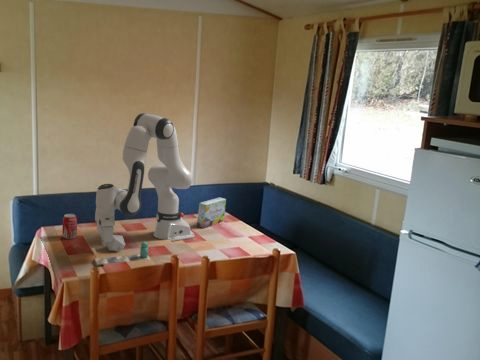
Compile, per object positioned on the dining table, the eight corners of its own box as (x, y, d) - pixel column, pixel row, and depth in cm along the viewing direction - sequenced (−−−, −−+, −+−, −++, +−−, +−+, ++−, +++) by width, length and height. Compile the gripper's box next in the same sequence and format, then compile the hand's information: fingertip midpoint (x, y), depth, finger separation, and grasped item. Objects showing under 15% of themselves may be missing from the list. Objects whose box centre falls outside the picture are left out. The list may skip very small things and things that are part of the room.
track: (147, 255, 232) (147, 253, 231) (151, 261, 226) (152, 259, 225) (93, 261, 220) (93, 258, 219) (96, 267, 214) (96, 264, 213)
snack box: (203, 229, 279) (205, 204, 275) (196, 226, 282) (198, 202, 278) (224, 221, 296) (226, 198, 293) (217, 219, 299) (219, 196, 296)
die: (113, 257, 227) (127, 241, 228) (99, 246, 228) (113, 229, 229) (118, 257, 235) (131, 241, 237) (104, 246, 236) (117, 230, 237)
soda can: (64, 234, 249) (64, 212, 246) (78, 235, 249) (78, 213, 247) (60, 239, 242) (61, 217, 239) (74, 240, 243) (75, 217, 240)
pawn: (146, 255, 229) (147, 240, 228) (148, 257, 226) (149, 242, 225) (139, 255, 228) (140, 240, 226) (140, 258, 225) (141, 243, 223)
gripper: (94, 211, 235) (93, 237, 238) (102, 224, 217) (101, 252, 220) (107, 210, 237) (106, 236, 240) (115, 223, 220) (114, 251, 223)
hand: (103, 244), depth 230 cm, fingers closed
